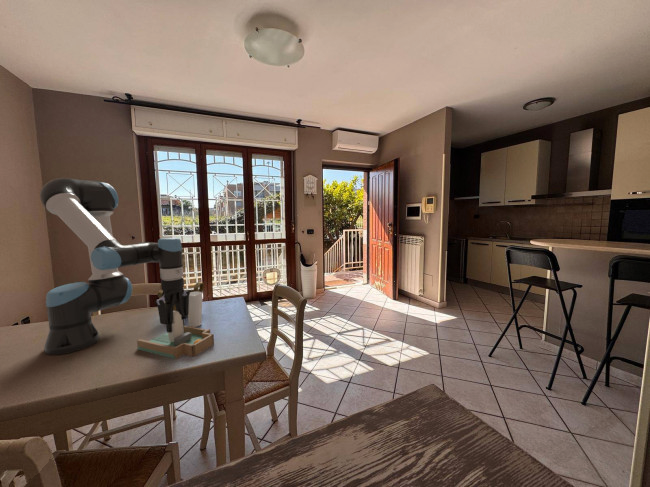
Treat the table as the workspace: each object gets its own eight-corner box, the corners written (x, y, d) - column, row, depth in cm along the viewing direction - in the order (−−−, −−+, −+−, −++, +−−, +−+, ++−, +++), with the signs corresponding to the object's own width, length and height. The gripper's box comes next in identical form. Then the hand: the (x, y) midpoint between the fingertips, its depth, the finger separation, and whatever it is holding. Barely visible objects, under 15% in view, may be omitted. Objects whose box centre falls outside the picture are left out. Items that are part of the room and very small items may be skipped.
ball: (195, 353, 96) (189, 345, 96) (202, 348, 99) (197, 341, 100) (200, 347, 94) (194, 340, 95) (207, 343, 98) (202, 335, 98)
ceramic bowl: (170, 326, 117) (168, 294, 116) (151, 318, 126) (149, 288, 124) (213, 310, 136) (212, 283, 135) (194, 305, 145) (192, 279, 143)
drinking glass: (196, 329, 114) (195, 296, 113) (183, 327, 116) (181, 295, 114) (206, 322, 121) (205, 291, 119) (194, 321, 122) (192, 290, 121)
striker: (166, 342, 98) (164, 313, 97) (179, 336, 104) (178, 307, 103) (178, 345, 96) (176, 315, 95) (191, 338, 102) (189, 309, 101)
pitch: (137, 349, 97) (136, 339, 96) (175, 331, 112) (174, 322, 111) (186, 361, 89) (185, 350, 88) (219, 340, 104) (219, 331, 103)
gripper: (159, 284, 89) (164, 348, 92) (196, 274, 105) (200, 330, 107) (144, 282, 92) (149, 345, 94) (182, 273, 107) (186, 327, 109)
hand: (176, 337), depth 101 cm, fingers closed on striker, 3 cm apart
